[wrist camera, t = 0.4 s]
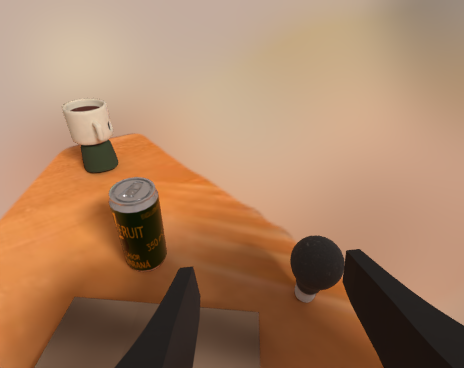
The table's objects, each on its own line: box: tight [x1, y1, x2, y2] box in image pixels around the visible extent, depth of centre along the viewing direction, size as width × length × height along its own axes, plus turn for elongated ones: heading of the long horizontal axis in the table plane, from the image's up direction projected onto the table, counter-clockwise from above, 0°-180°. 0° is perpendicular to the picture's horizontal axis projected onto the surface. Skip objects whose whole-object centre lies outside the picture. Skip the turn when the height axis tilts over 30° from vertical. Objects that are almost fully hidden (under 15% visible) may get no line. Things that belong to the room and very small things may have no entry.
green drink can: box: [109, 177, 167, 272], centre depth 33 cm, size 5×5×12 cm
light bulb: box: [290, 236, 344, 303], centre depth 30 cm, size 6×6×10 cm
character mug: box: [62, 99, 118, 172], centre depth 50 cm, size 11×7×13 cm, turn 42°
